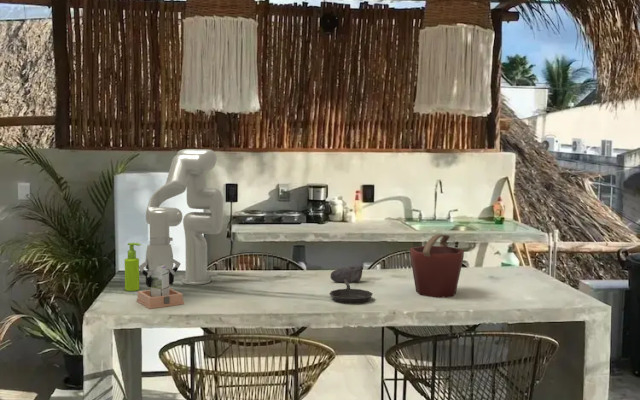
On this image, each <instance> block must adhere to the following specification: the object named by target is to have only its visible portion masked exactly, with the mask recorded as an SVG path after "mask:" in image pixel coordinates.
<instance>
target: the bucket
mask: <svg viewBox="0 0 640 400" xmlns="http://www.w3.org/2000/svg"><path fill="white" fill-rule="evenodd" d="M450 237H451V235H449V234H443V233H441V234H440V233H439V234H434V235H432V236H431V238H429V240H428V241H427V243H425V244H424V245H422V246H416V247H410V248H409V249H410V250H409V257H410V262H411V268H412V275H413V281H414V287H415V291H416V293H417V294H418V295H419V296H423V297H428V298H429V297H430V298H451V297H454V296H455V295H456V293H457V289H458V288H457V287H458V283H459V280H460V275H461V270H462V266H463V261H464V257H465V253H464V250H465V249H462V248H457V247H456V248H455V247H451V246H449V245H448V241H449V239H450ZM439 238H441V239H440V241H439V245H438V246H437V245H435V244H436V242H437V241H438V240H439Z"/></svg>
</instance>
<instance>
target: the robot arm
mask: <svg viewBox="0 0 640 400" xmlns="http://www.w3.org/2000/svg"><path fill="white" fill-rule="evenodd" d="M216 165H217V154H216V153H215V151H214V150H213V149H206V148H205V149H202V148H201V149H200V148H199V149H198V148H197V149H196V148H187V149H181V150H178V151H177V153H176V155H175V156H174V157H173V158H172V160H171V165H170V167H169V171H168V173H167V178H166V181H165V183H164V184H163V185H162V186H161V187H160V188H158V189H157V190H156V191H155V192H154V193H153V194H152V196H151V197H150V198H149V201H148V203H147V207H146V209H145V210H146V211H145V222H146V223H147V224H148V225H149V227H148V228H149V244H147V246H146V252H145V261H144V262H143V263H141V264H139V267H138V268H139V272H141V273H142V275H144V277H145V285H146V286H147V287H148V288H150V287H151V277H150V275H151V274H152V272H153V271H156V268H157V266H159V265H164V264H165V267H166V270H169V285H171V286H172V285H174V282H175V274H176V273H177V271H179V268H180V266H181V262H180V261H177V260H176V259H175V258H174V253H173V248H172V247H173V246H172V244H171V242H172V241H173V240H174V239H173V237H170V227H177V226H179V225H180V224H181V223H182V224H183V226H182V227H183V229H184V238H185V278H182V279H181V282H182V284H185V285H193V286H195V285H196V286H197V285H205V284H209V283H210V282H211V281H212V280H211V278H213V277H218V272H217V271H214V272H213V271H208V242H207V239H206V238H205V236H204V235H217V234H220V233H221V232H222V230H223V227H224V221H223V220H224V198H223V194H222V191H221V190H220V189H218V188H216V187H215V188H214V187H207V177H206V173H208V172H210V171H211V170H213V168H215V166H216ZM185 192H186V204H187V206H188V208H190V209H193V210H209V211H210V212H204V211H192V212H188V213H186V214H185V215H184V216H183V213H182V211H181V210H180V209H179V208H177V207H165V206H164V207H163V206H161V205H162V204H163V203H164V202H166V201H167V200H169V199H172V198H174V197H176V196H179V195H181V194H183V193H185ZM145 269H146V270H145Z"/></svg>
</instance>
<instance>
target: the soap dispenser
mask: <svg viewBox="0 0 640 400" xmlns="http://www.w3.org/2000/svg"><path fill="white" fill-rule="evenodd" d="M141 245H142V244H141V243H139V242H128V243H127V246H129V250H127V258H124V290H125V291H127V292H135V291H136V292H137V291H140V269H139V268H138V267H139V266H140V258H137V251H136V250H135V249H134V248H135V247H134V246H141Z"/></svg>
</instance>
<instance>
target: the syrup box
mask: <svg viewBox="0 0 640 400" xmlns="http://www.w3.org/2000/svg"><path fill="white" fill-rule="evenodd" d="M150 277H151V287H149V290H150V297H157V296H165V295H170V294H169V288H170V284H169V270H166V267H165V264H164V265H159V266H157V268H156V271H153V272H152V274H151V275H150Z"/></svg>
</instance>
